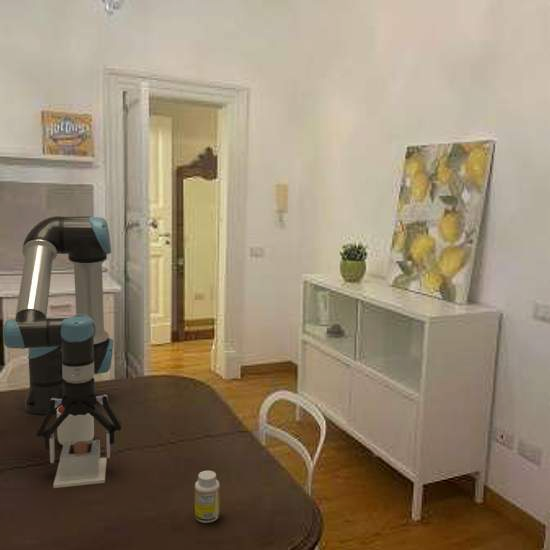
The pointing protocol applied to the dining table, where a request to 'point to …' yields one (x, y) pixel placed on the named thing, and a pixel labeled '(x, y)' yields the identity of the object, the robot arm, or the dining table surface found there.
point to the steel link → (80, 461)
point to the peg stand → (81, 448)
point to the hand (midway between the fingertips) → (80, 458)
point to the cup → (75, 427)
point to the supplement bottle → (207, 497)
